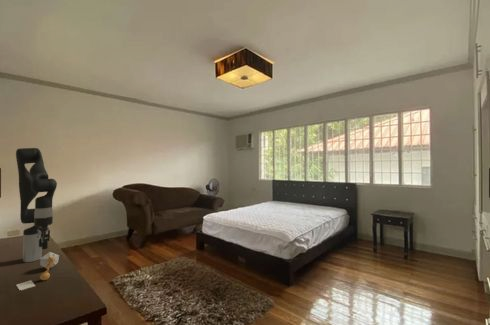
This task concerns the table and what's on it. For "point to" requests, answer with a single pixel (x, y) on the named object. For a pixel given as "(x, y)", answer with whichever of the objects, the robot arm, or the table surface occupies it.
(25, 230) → the robot arm
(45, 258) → the die
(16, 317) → the table surface
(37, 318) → the table surface
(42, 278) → the figurine
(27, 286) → the grey mat
